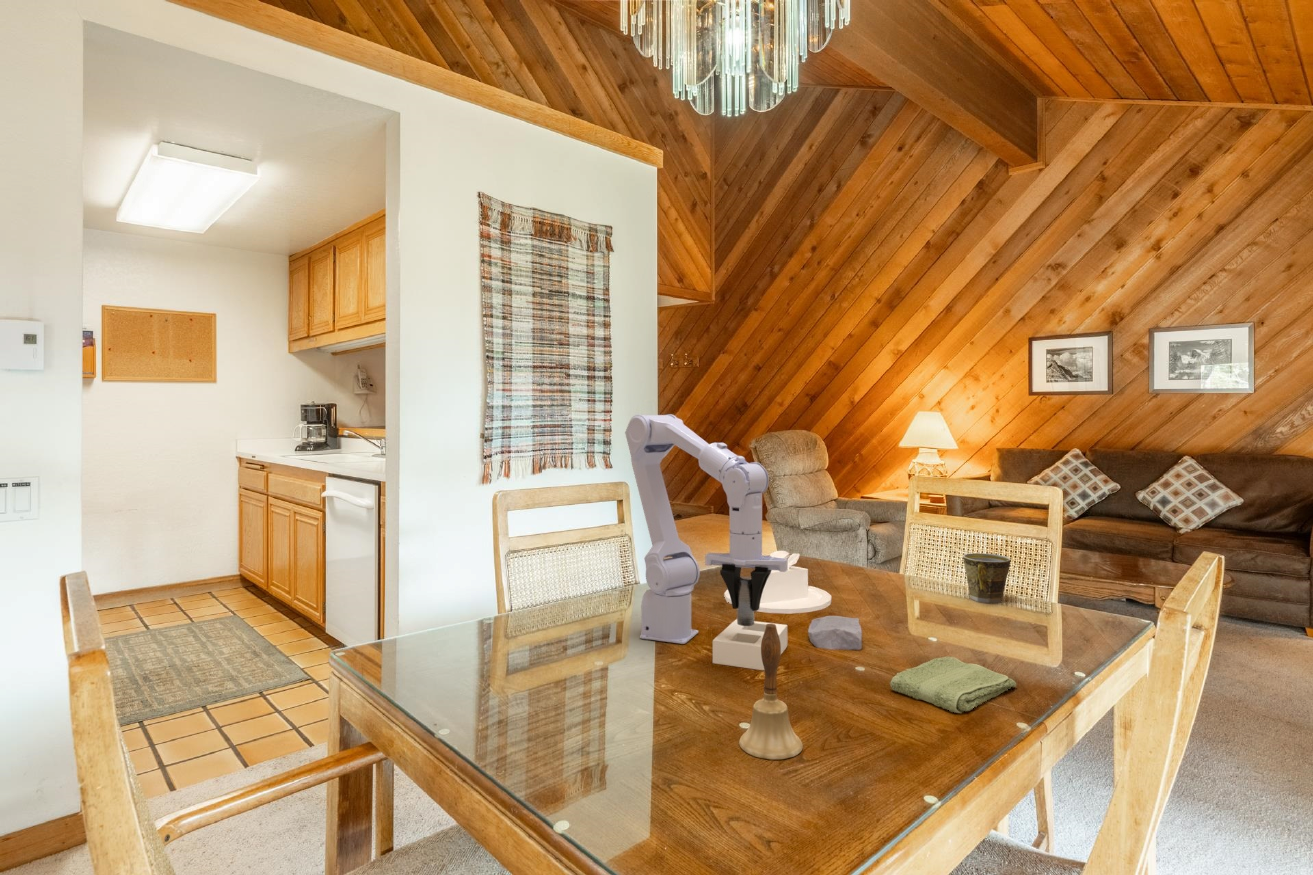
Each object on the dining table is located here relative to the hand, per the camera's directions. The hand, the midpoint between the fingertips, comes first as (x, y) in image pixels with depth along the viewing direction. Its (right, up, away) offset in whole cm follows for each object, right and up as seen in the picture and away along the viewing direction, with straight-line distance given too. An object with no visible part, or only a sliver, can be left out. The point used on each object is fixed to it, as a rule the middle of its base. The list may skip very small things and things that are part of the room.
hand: (745, 608), depth 124 cm
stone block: (+19, -9, +12) cm, 24 cm away
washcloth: (+31, -10, -13) cm, 35 cm away
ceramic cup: (+60, -8, +39) cm, 72 cm away
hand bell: (-1, -11, -32) cm, 33 cm away
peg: (0, -3, 0) cm, 3 cm away
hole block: (+1, -9, +4) cm, 10 cm away
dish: (+13, -8, +42) cm, 45 cm away
